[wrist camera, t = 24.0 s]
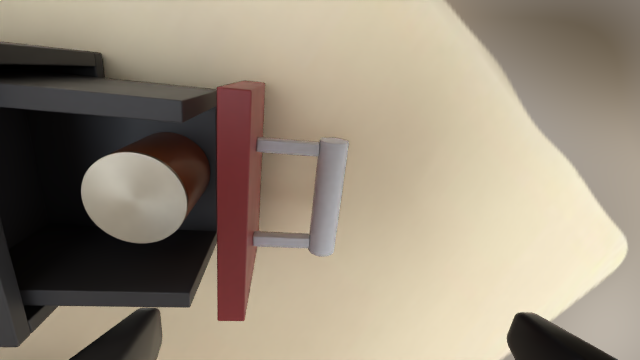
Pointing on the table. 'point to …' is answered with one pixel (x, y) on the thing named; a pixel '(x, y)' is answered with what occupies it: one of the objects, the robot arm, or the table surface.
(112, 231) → the brown short cylinder
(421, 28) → the table surface
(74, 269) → the pod drawer
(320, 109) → the table surface
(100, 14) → the table surface
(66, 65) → the drawer cabinet
